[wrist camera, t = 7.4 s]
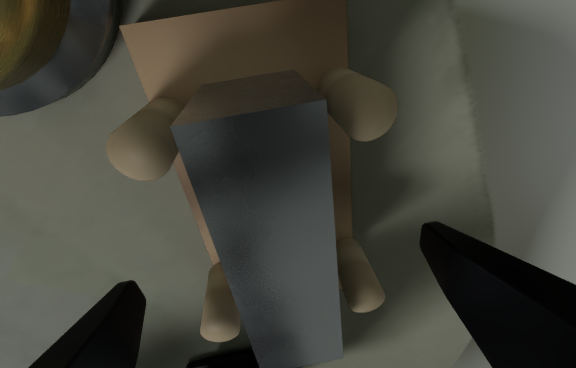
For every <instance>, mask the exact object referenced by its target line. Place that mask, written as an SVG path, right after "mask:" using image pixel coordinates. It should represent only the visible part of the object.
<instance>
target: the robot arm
mask: <svg viewBox="0 0 576 368" xmlns="http://www.w3.org/2000/svg"><path fill="white" fill-rule="evenodd" d="M420 248H421V251H422V253H423V255H424V257H425V258H426V260H427V262H428V264H429V266H430V268H431V270H432V272H433V274H434V276H435V278H436V280H437V282H438V284H439V285H440V287H441V289H442V291H443V293H444V294H445V296H446V298H447V299H448V301H449V302H450V304H451V305H452V307H453V309H454V310H455V312H456V313H457V315H458V316H459V318H460V319H461V321H462V322H463V324H464V325H465V327H466V328H467V330H468V331H469V333H470V334H471V336H472V337H473V339H474V340H475V342H476V343H477V345H478V347H479V348H480V350H481V351H482V353H483V354H484V356H485V357H486V359H487V360H488V362H489V363H490V365H491V366H492V368H576V285H575V284H573V283H570V282H569V281H566V280H564V279H562V278H560V277H558V276H555V275H553V274H551V273H549V272H547V271H544V270H542V269H540V268H538V267H536V266H534V265H531V264H529V263H527V262H525V261H522V260H521V259H518V258H516V257H514V256H512V255H510V254H508V253H505V252H503V251H501V250H499V249H497V248H494V247H492V246H490V245H488V244H486V243H484V242H481V241H479V240H477V239H475V238H473V237H470V236H468V235H466V234H464V233H462V232H460V231H457V230H455V229H453V228H451V227H449V226H446V225H444V224H442V223H440V222H437V221H433V222H428V223H424V224H423V225H422V229H421V236H420ZM145 308H146V299H145V296H144V294H143V293H142V291H141V290H140V288H139V286H138V285H137V283H136V282H135V281H133V280H130V281H124V282H120V283H118V284H117V285H115V286H114V287H113V288H112V289H111V290H110V291H109V292H108V293H107V294H106V295H105V296H104V297H103V298H102V299H101V300H100V301H99V302H97V303H96V304H95V305H94V306H93V307H92V308H91V309H90V310H89V311H88V312H87V313H86V314H85V315H84V316H83V317H82V318H81V319H79V320H78V321H77V322H76V323H75V324H74V325H73V326H72V327H71V328H70V329H69V330H68V331H67V332H66V333H65V334H64V335H62V336H61V337H60V338H59V339H58V340H57V341H56V342H55V343H54V344H53V345H52V346H51V347H50V348H49V349H48V350H47V351H46V352H44V353H43V354H42V355H41V356H40V357H39V358H38V359H37V360H36V361H35V362H34V363H33V364H32V365H31V366H30V367H29V368H135V366H136V362H137V357H138V352H139V347H140V340H141V334H142V328H143V321H144V315H145ZM186 368H260V367H259V365H258V362H257V359H256V357H255V354H254V351H253V350H248V351H244V352H239V353H234V354H229V355H224V356H220V357H215V358H210V359H205V360H200V361H196V362H191V363H189V364H187V366H186Z"/></svg>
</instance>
